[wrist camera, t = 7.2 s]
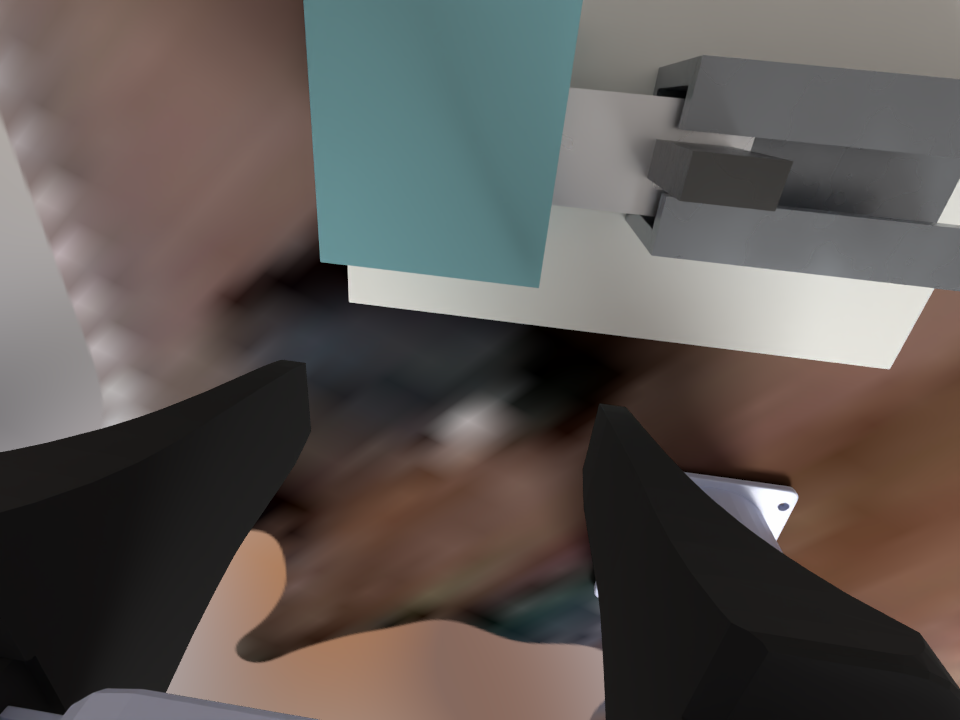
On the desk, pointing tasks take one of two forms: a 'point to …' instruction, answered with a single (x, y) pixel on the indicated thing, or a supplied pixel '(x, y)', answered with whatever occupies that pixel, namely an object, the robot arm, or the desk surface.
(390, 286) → the base board
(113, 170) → the desk surface
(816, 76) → the grey rail guide
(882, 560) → the desk surface
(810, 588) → the robot arm
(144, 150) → the desk surface
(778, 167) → the bar
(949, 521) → the desk surface
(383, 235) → the socket
